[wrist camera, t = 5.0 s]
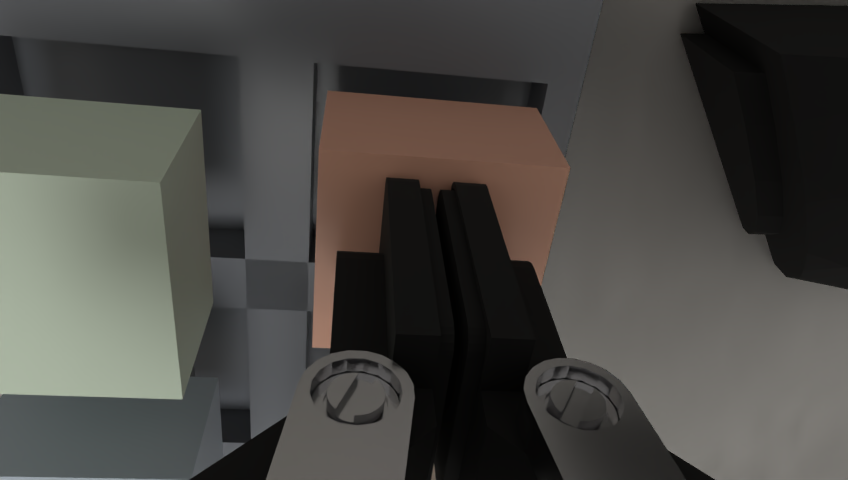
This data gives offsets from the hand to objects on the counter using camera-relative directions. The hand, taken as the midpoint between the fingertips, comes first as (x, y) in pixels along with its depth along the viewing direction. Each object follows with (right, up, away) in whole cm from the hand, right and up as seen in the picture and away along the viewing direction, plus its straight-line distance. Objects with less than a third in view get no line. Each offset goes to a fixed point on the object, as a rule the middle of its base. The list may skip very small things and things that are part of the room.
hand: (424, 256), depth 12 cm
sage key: (-6, +2, +1) cm, 6 cm away
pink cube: (0, +2, +3) cm, 4 cm away
